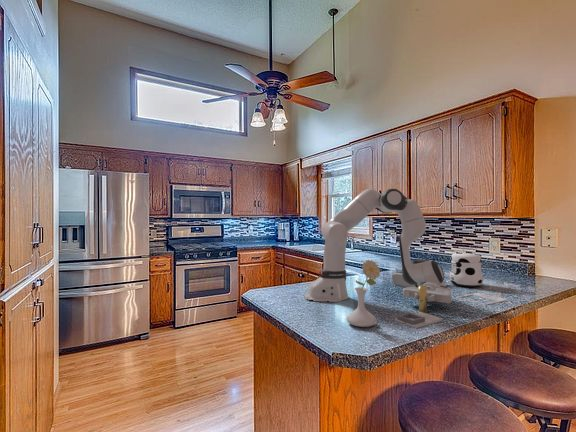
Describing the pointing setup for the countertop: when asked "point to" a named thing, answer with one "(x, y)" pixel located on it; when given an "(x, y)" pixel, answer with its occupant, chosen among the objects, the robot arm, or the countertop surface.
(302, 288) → the countertop surface
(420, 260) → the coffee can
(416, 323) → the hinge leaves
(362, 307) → the flower in vase
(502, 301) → the photo frame
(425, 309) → the hinge pin
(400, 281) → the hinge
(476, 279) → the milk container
